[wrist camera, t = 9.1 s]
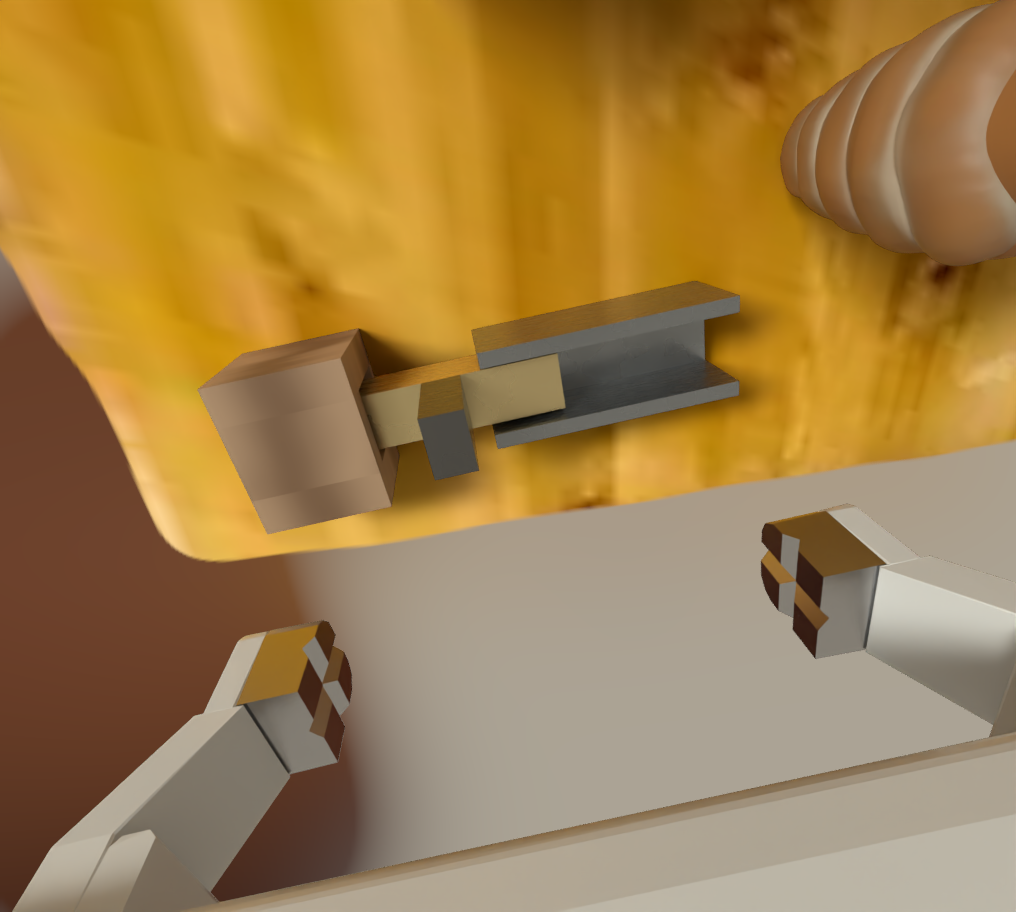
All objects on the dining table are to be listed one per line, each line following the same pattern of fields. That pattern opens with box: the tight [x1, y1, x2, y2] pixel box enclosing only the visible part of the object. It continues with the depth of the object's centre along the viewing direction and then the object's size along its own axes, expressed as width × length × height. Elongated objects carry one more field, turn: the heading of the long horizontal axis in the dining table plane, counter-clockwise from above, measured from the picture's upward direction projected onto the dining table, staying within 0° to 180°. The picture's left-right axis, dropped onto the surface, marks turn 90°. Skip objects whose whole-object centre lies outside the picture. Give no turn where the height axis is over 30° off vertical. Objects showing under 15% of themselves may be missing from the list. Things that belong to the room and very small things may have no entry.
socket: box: [198, 328, 399, 534], centre depth 28 cm, size 6×8×6 cm
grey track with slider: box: [471, 281, 740, 449], centre depth 29 cm, size 13×5×5 cm, turn 101°
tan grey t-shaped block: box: [359, 352, 566, 480], centre depth 26 cm, size 14×3×8 cm, turn 101°
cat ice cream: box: [780, 0, 1016, 266], centre depth 20 cm, size 9×8×18 cm
